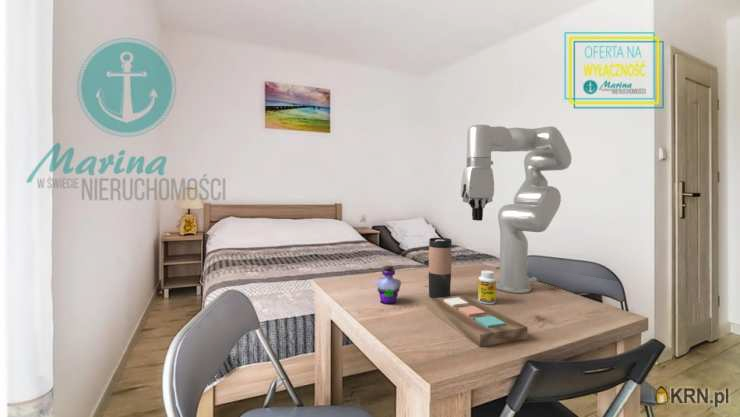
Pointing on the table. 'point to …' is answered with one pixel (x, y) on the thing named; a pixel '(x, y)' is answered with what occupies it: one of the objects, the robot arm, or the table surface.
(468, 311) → the terracotta button
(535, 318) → the table surface
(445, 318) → the console
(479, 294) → the supplement bottle
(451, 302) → the ivory button
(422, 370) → the table surface
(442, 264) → the travel mug
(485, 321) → the teal button
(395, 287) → the potion bottle
